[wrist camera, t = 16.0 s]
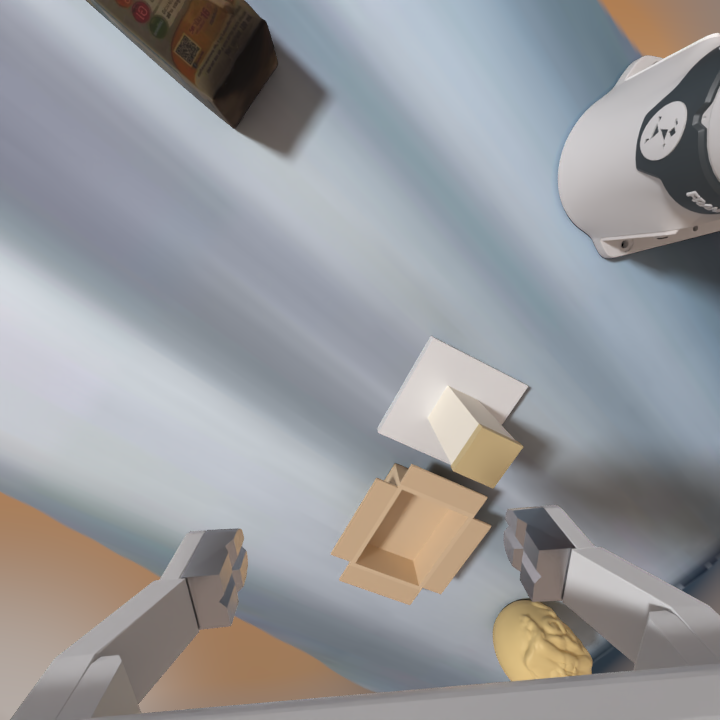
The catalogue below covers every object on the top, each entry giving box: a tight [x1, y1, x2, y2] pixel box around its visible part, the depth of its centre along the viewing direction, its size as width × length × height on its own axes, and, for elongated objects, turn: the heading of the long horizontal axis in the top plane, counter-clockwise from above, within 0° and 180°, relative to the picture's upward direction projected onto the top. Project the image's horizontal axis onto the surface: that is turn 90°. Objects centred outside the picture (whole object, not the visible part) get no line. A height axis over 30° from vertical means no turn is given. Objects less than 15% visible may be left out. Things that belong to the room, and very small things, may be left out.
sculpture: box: [493, 600, 592, 681], centre depth 50 cm, size 11×12×11 cm
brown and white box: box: [428, 386, 523, 488], centre depth 37 cm, size 5×5×11 cm
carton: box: [331, 463, 492, 605], centre depth 46 cm, size 17×20×4 cm
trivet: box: [377, 336, 528, 465], centre depth 43 cm, size 14×14×1 cm
